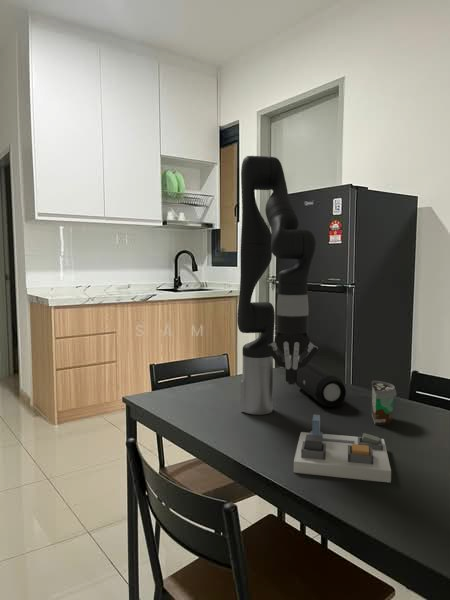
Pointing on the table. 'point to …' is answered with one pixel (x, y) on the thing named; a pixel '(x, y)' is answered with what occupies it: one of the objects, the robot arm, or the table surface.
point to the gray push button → (313, 442)
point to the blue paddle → (316, 426)
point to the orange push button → (360, 449)
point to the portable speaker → (321, 385)
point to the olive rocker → (370, 439)
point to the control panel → (343, 459)
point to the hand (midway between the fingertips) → (291, 383)
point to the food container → (382, 402)
